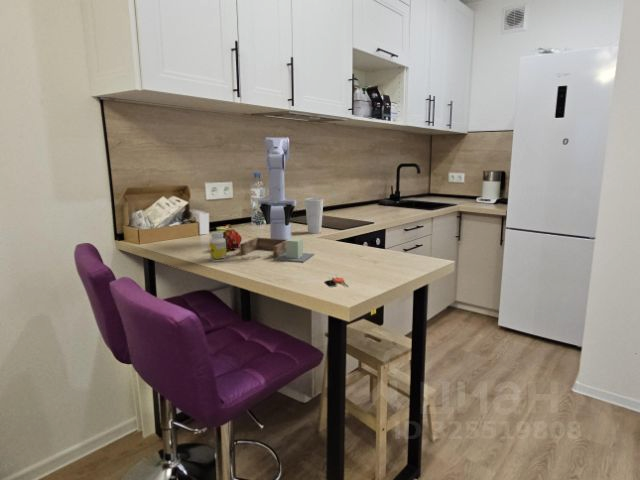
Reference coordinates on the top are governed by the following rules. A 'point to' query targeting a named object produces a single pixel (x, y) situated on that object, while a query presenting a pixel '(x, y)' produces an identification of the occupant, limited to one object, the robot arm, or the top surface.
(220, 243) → the supplement bottle
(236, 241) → the dragon fruit
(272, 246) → the wooden u-shaped shelf
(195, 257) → the top surface
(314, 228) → the cup
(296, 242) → the block
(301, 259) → the mat
